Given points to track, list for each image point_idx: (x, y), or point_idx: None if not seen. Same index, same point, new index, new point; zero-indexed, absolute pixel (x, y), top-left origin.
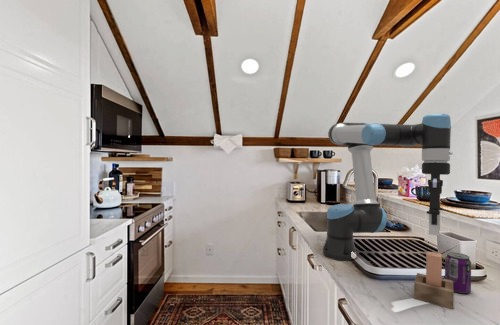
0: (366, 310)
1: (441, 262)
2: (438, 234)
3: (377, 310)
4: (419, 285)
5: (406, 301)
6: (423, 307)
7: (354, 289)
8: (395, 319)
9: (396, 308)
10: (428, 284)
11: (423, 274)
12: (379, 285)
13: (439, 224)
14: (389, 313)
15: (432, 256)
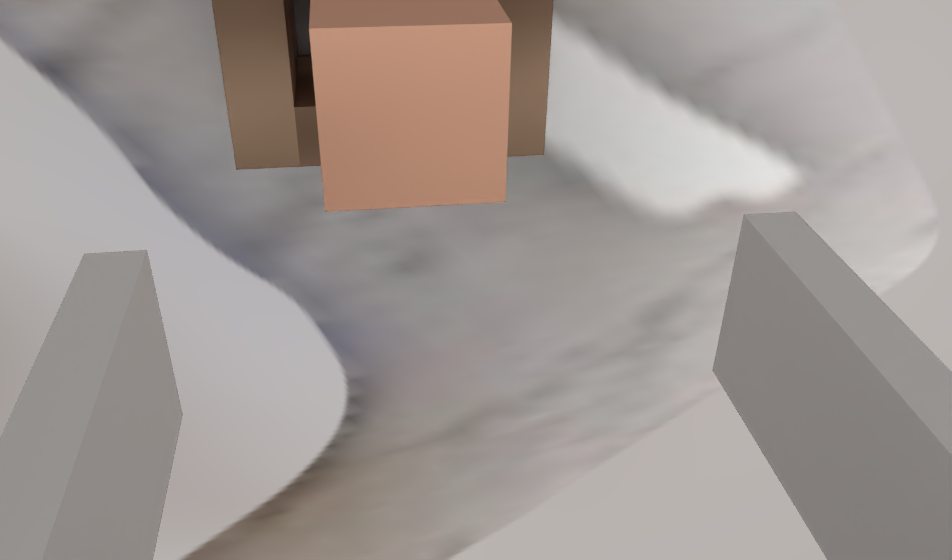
0: None
1: (497, 4)
2: (806, 241)
3: None
4: (544, 110)
5: (600, 139)
6: (632, 24)
7: (613, 424)
8: (896, 153)
9: (748, 174)
10: None
11: (237, 113)
12: (437, 335)
13: (945, 370)
14: (836, 194)
15: (505, 130)
